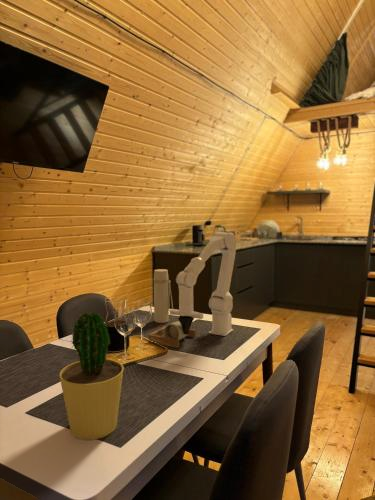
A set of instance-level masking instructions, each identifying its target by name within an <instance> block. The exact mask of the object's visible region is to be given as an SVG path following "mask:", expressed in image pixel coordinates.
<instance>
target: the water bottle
mask: <svg viewBox="0 0 375 500" xmlns="http://www.w3.org/2000/svg"><path fill="white" fill-rule="evenodd" d="M153 271H154V272H153V311H154V312H153V314H154V315H153V318H154V322H155V323H158V324H166V323H167V322H169V320H170V317H169V316H170V310H171V309H174V307H173V304H174V303H171V308H170V302H173V298H172V297H173V296H172V295H171V294H172V290H171V289H172V288H171V280H170V279H169V273H168V272H169V270H168V269H164V268H161V269H160V268H159V269H154V270H153ZM170 299H171V301H170Z"/></svg>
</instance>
